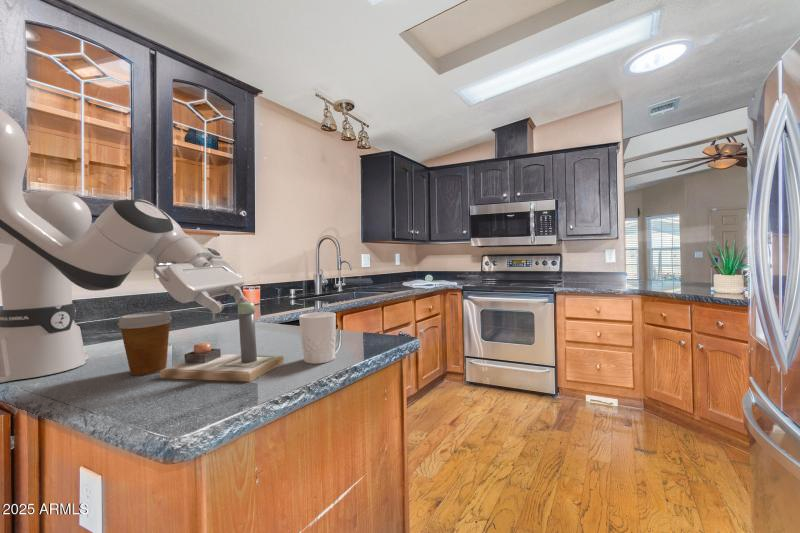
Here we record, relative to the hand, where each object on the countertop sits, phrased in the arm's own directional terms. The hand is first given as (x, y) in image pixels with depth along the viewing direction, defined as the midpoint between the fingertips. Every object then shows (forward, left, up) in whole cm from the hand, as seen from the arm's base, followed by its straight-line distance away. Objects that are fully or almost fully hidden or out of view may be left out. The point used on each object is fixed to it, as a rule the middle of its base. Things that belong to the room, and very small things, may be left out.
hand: (233, 307), depth 78 cm
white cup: (+15, +7, -13) cm, 22 cm away
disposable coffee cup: (-19, -4, -13) cm, 23 cm away
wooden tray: (-2, -2, -13) cm, 13 cm away
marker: (+3, -1, -11) cm, 12 cm away
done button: (-8, -1, -10) cm, 13 cm away
